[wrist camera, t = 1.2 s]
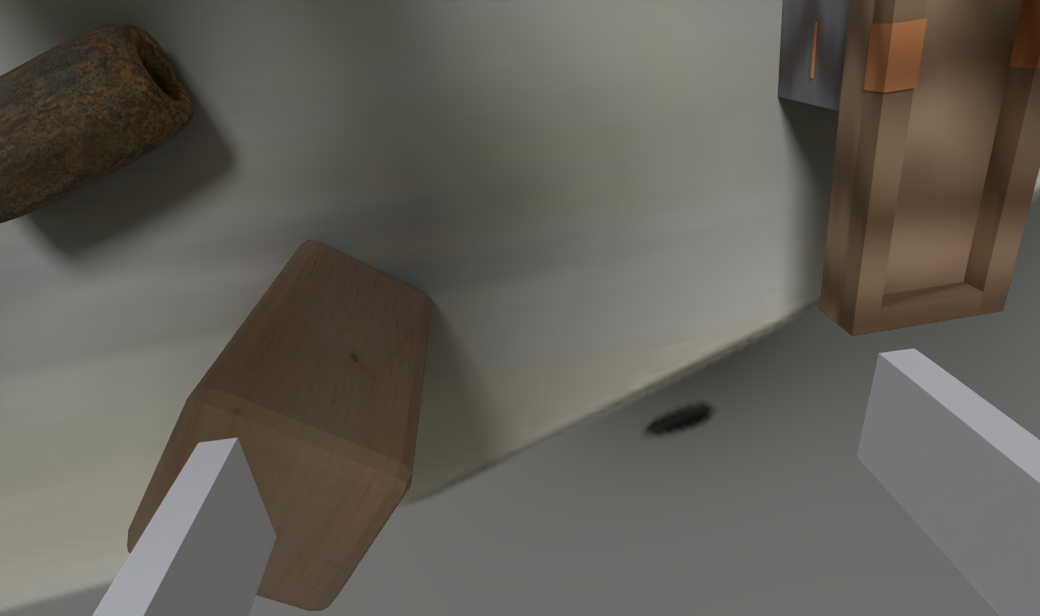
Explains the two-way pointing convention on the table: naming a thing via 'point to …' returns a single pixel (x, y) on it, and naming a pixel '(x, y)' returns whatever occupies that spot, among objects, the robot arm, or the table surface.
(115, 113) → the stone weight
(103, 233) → the table surface
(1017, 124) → the beam
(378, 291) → the wooden block
